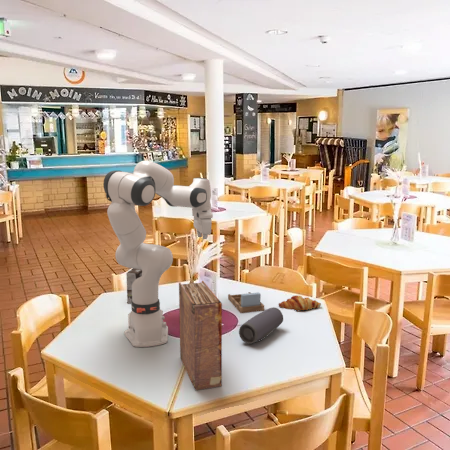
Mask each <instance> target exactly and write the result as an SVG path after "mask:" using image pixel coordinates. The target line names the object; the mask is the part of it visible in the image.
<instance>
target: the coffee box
mask: <svg viewBox="0 0 450 450" xmlns="http://www.w3.org/2000/svg"><path fill="white" fill-rule="evenodd" d="M125 275H126V297H127V299H126V300H127V304H131V301H132V284H133V282H134V281H135V280H136V279H137V278H139V277H141V276H142V270H141V269H134V268H130V270H129V271H127V272H126V273H125Z"/></svg>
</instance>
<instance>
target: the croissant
mask: <svg viewBox="0 0 450 450" xmlns="http://www.w3.org/2000/svg"><path fill="white" fill-rule="evenodd" d="M321 306H322V303H321V302H318V301H317V300H316V299H315V300H313V299H311V298H310V297H303V296H301V295H292V296H290V298H287V299H286V301H285V300H283V301H281V302H278V307H280V308H282V309H286V310H292V311H295V310H307V311H309V310H310V309H311V310H313V309H312V308H314V309H318V308H320V307H321ZM308 309H309V310H308Z"/></svg>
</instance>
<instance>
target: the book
mask: <svg viewBox="0 0 450 450" xmlns="http://www.w3.org/2000/svg"><path fill="white" fill-rule="evenodd" d="M178 302H179V303H178V306H179V307H178V308H179V353H180V355H179V356H180V360H181V362H182V364H183V366H184V369H185V371H186V374H187V375H188V378H189V379H190V382H191V384H192V386H193V388H194V391H200V390H205V389H206V390H207V389H212V388H218V387H219V388H220V387H222V381H223V380H222V378H223V377H222V374H223V373H222V370H223V369H222V367H223V366H222V363H223V360H222V359H223V358H222V357H223V354H222V353H223V352H222V351H223V349H222V347H223V346H222V345H223V342H222V341H223V339H222V337H223V335H222V334H223V333H222V332H223V330H222V329H223V303H222V302H221V301H220V299H219V298H218V296H216V294H215V293H214V292H213V290H212V289H211V288H210V287H209V286H208V285H207V283H206V282H205V281H204V280H201V282H195V283H194V282H193V283H185V284H184V283H183V284H182V283H181V282H178Z"/></svg>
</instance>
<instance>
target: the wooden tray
mask: <svg viewBox="0 0 450 450" xmlns="http://www.w3.org/2000/svg"><path fill="white" fill-rule="evenodd" d="M248 293H252V292H248ZM248 293H247V294H248ZM241 294H242V293H241ZM241 294H230V293H229V294H227V299H228V301H229V302H230V303H231V304H232V306H234V308H236V310H237V311H238V312H239V313H240V314H244V313H252V312H253V313H254V312H255V313H256V312H263V311H265V305H264V303H262V302H261V301H260V305H258V306H249V307H241V304H239V302H240V298H241Z"/></svg>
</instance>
